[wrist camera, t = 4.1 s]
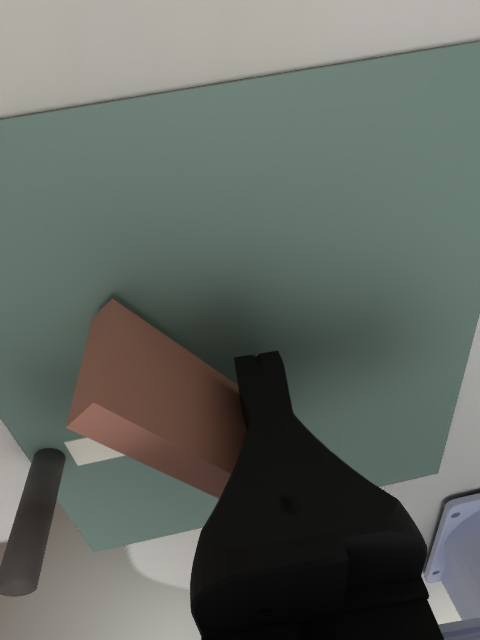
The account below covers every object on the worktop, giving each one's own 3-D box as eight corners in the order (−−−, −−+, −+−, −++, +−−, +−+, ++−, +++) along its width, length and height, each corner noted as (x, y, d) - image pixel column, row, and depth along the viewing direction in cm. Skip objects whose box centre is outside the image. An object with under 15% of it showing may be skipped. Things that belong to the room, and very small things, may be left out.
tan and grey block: (291, 510, 20) (324, 625, 16) (99, 555, 19) (84, 685, 15) (280, 397, 15) (322, 519, 11) (28, 451, 15) (-19, 599, 11)
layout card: (433, 470, 21) (437, 476, 20) (95, 548, 19) (94, 555, 19) (544, 30, 10) (555, 29, 10) (-176, 147, 9) (-187, 151, 9)
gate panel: (264, 403, 15) (294, 507, 11) (246, 417, 15) (270, 522, 12) (112, 298, 11) (93, 402, 8) (92, 318, 12) (65, 427, 8)
